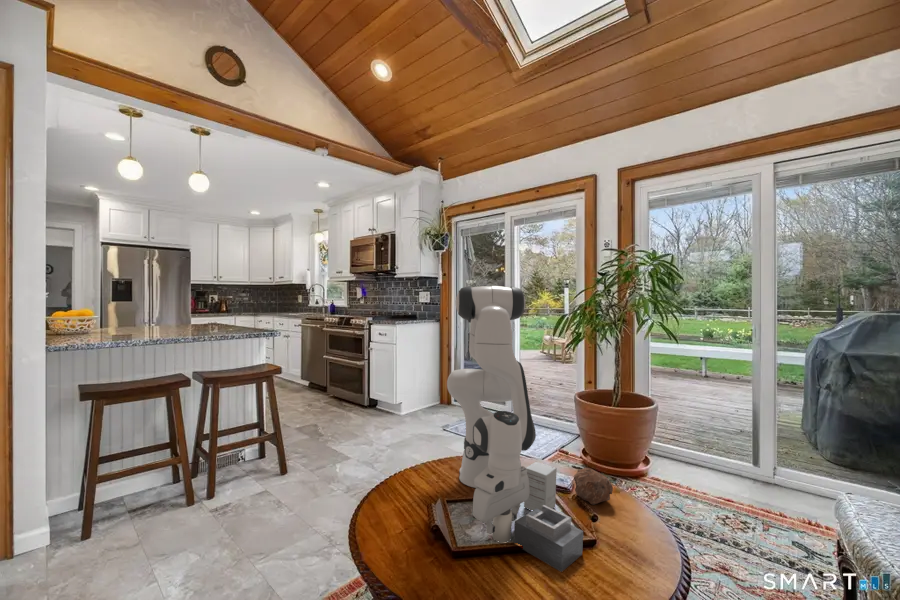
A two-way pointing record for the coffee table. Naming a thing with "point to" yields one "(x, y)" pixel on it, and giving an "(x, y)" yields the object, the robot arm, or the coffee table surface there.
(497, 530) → the cream cylinder
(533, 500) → the supplement box
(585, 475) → the decorative rock
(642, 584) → the coffee table surface
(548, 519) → the grey socket block
